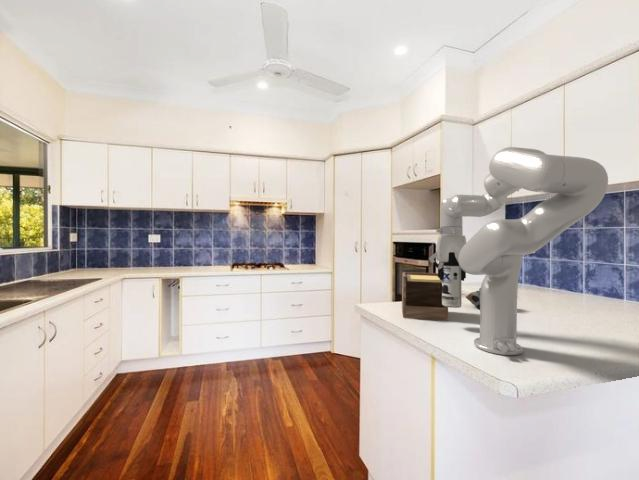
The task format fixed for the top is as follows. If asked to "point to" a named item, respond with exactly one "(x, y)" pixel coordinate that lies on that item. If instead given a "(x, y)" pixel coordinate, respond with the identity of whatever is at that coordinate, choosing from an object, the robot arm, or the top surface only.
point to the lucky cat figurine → (474, 298)
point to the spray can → (451, 282)
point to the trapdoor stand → (422, 299)
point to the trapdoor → (423, 278)
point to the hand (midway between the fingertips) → (451, 279)
